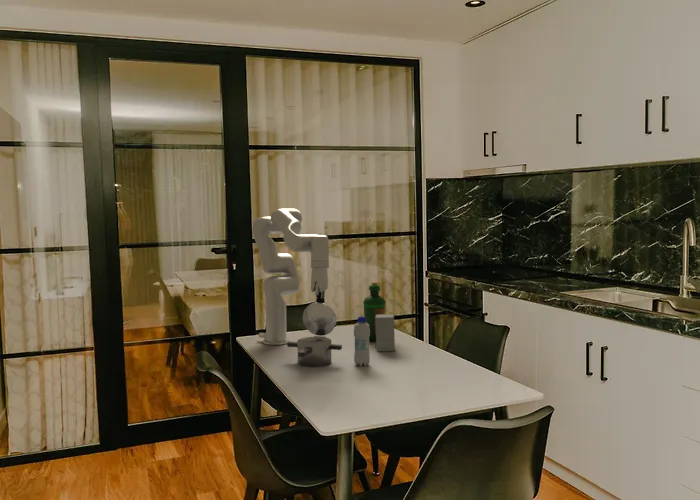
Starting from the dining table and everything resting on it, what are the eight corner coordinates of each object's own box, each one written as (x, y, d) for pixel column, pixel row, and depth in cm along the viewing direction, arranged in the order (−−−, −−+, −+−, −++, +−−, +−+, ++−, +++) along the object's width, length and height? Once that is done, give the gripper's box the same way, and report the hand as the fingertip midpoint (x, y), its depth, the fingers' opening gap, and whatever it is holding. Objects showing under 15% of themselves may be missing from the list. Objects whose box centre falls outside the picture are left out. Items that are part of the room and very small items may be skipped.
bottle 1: (368, 367, 244) (368, 318, 243) (352, 366, 246) (352, 317, 244) (371, 363, 251) (371, 315, 249) (355, 362, 252) (355, 314, 251)
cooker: (273, 370, 240) (273, 347, 239) (295, 355, 263) (295, 334, 263) (329, 374, 234) (329, 351, 233) (346, 359, 257) (346, 337, 257)
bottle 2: (386, 342, 288) (386, 283, 285) (363, 342, 288) (363, 283, 286) (385, 337, 298) (385, 280, 296) (363, 337, 298) (363, 280, 296)
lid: (301, 302, 258) (303, 300, 260) (303, 334, 261) (306, 332, 264) (334, 303, 254) (336, 301, 257) (336, 336, 257) (338, 333, 260)
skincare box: (394, 348, 276) (394, 313, 275) (394, 352, 269) (394, 316, 268) (376, 348, 277) (376, 313, 276) (375, 351, 270) (375, 316, 269)
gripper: (316, 262, 266) (317, 304, 267) (305, 266, 251) (306, 310, 252) (333, 263, 264) (333, 305, 265) (323, 266, 249) (323, 310, 251)
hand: (320, 307), depth 259 cm, fingers closed
